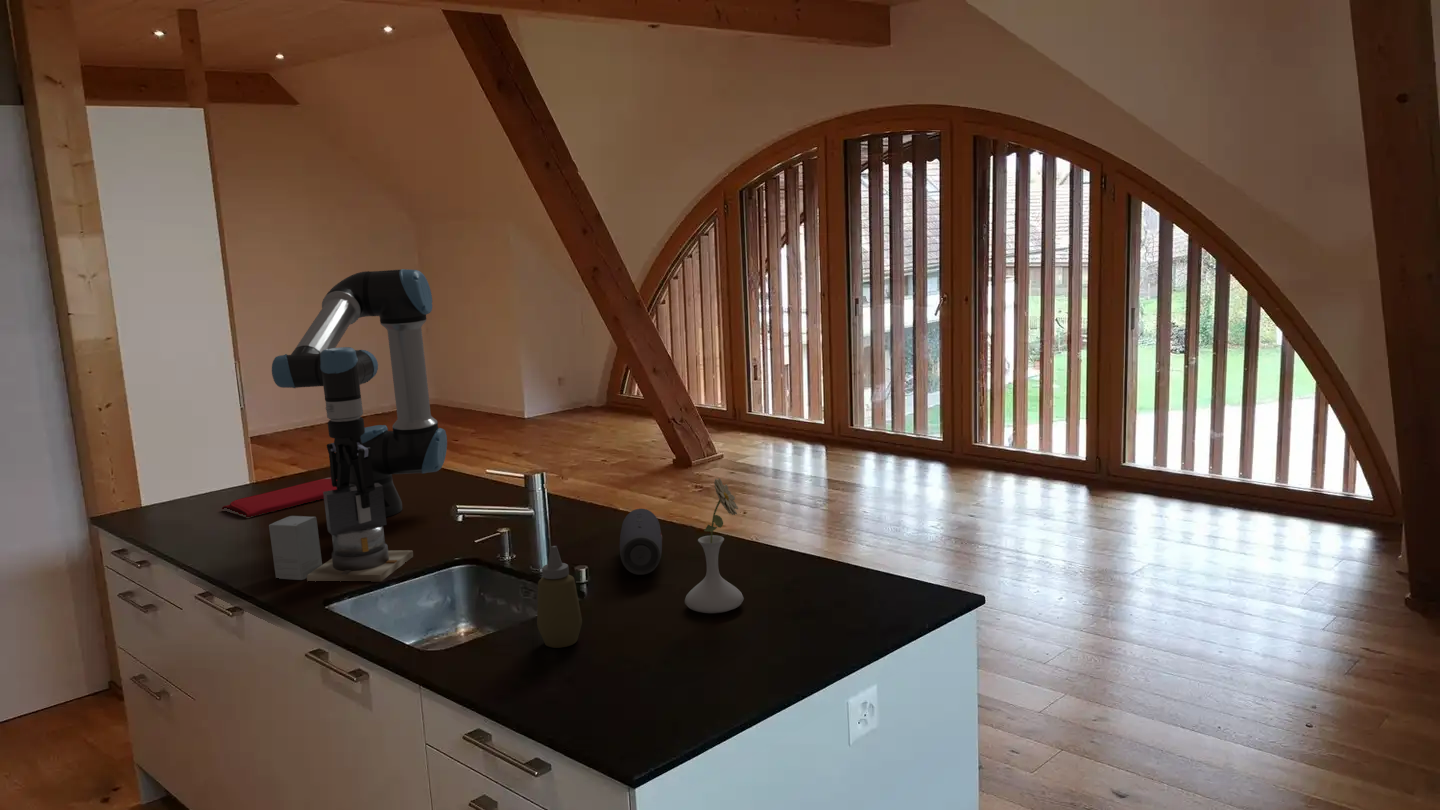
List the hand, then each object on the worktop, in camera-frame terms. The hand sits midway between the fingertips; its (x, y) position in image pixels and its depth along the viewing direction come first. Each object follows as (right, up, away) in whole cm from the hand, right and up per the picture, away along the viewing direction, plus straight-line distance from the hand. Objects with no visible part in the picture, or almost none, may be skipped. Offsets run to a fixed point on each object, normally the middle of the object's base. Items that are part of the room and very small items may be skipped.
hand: (356, 519), depth 239 cm
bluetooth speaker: (+64, -9, -4) cm, 65 cm away
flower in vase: (+81, -14, -32) cm, 88 cm away
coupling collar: (0, -7, +1) cm, 7 cm away
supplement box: (-13, -13, 0) cm, 18 cm away
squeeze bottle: (+53, -17, -46) cm, 72 cm away
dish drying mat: (-39, -2, +70) cm, 80 cm away
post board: (0, -11, +2) cm, 11 cm away
